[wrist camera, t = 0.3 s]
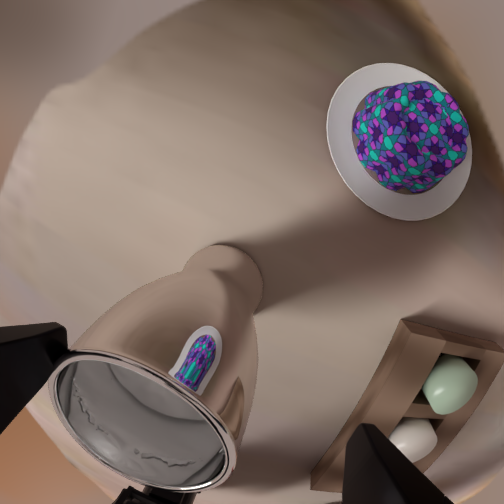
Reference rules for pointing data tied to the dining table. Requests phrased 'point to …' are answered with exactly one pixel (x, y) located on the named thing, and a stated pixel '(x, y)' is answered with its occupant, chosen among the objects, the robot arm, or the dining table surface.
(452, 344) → the button panel
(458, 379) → the green button
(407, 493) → the robot arm
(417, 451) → the cream button
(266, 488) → the dining table surface
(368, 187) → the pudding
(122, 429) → the beer glass
